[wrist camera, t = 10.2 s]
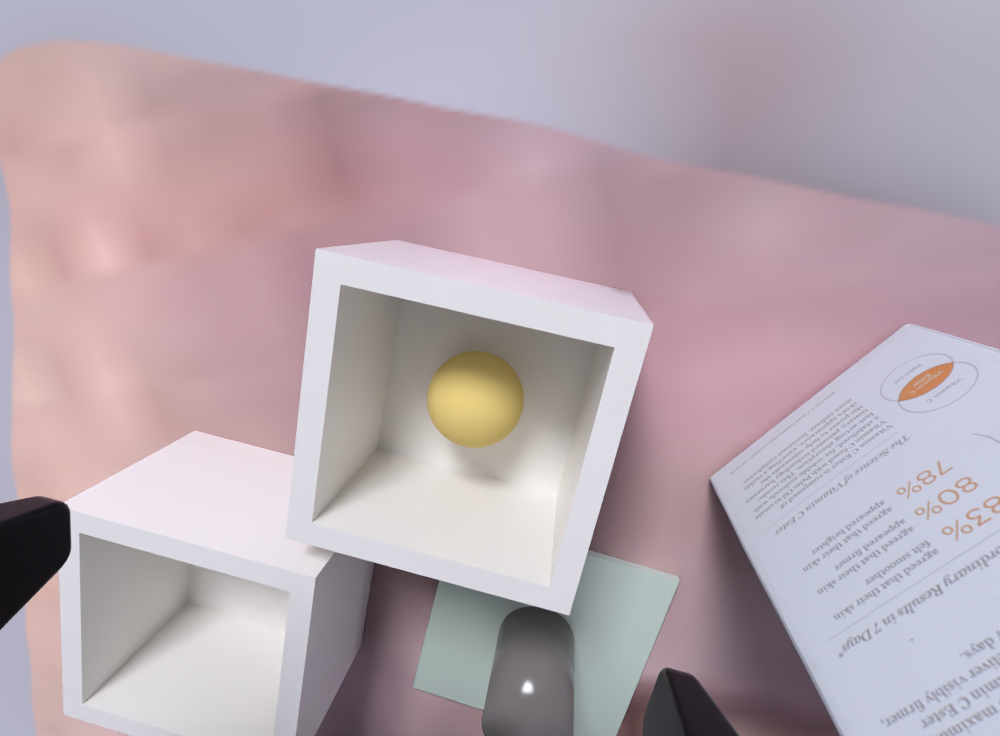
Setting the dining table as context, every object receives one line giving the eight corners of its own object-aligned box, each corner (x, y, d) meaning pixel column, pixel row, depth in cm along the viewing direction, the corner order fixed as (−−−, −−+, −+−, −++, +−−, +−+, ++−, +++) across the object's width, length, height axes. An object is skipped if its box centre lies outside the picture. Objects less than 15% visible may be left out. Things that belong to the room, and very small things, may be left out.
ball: (517, 436, 19) (506, 475, 16) (433, 415, 19) (407, 450, 16) (536, 353, 18) (528, 378, 15) (448, 332, 18) (423, 353, 15)
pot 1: (360, 645, 23) (289, 784, 18) (187, 596, 24) (63, 714, 18) (387, 480, 21) (315, 577, 15) (195, 430, 22) (56, 505, 16)
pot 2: (572, 503, 20) (569, 615, 14) (366, 450, 21) (285, 538, 15) (630, 291, 18) (653, 325, 12) (397, 239, 19) (315, 248, 13)
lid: (675, 568, 21) (702, 667, 16) (609, 733, 23) (616, 859, 19) (459, 504, 21) (427, 583, 17) (417, 672, 24) (379, 780, 19)
